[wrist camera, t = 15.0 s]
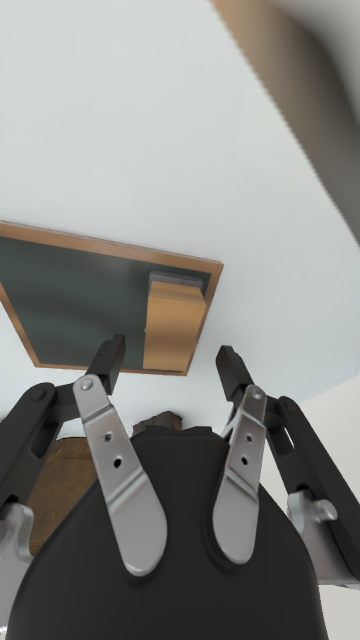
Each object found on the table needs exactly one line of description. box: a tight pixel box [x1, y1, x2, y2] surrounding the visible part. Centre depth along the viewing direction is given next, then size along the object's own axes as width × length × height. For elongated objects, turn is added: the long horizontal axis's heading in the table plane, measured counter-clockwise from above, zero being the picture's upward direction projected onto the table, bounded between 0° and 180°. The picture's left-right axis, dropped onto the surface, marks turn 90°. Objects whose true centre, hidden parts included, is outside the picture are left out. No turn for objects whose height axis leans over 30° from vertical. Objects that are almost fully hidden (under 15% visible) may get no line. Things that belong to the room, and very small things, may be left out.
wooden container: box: [26, 438, 98, 557], centre depth 33 cm, size 15×15×22 cm
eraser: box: [143, 270, 206, 371], centre depth 15 cm, size 9×5×5 cm, turn 169°
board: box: [0, 221, 224, 376], centre depth 19 cm, size 18×22×1 cm
